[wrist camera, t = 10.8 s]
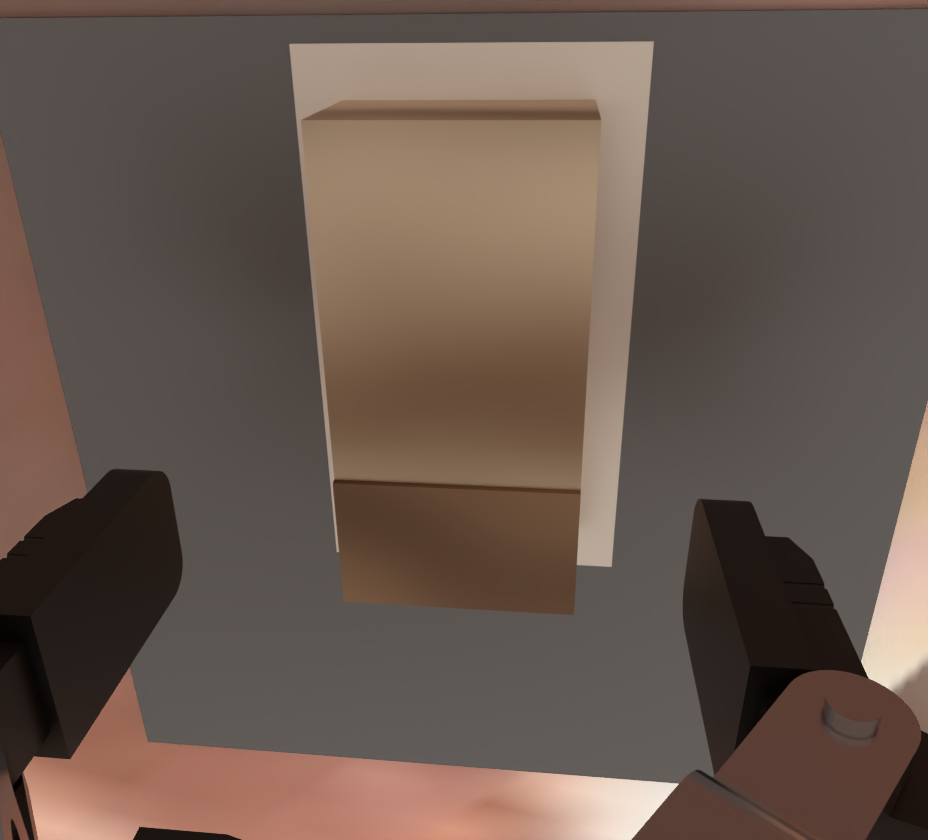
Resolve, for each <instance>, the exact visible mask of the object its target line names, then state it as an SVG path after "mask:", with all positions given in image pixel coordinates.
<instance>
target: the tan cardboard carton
mask: <svg viewBox="0 0 928 840" xmlns="http://www.w3.org/2000/svg"><path fill="white" fill-rule="evenodd" d="M301 127H302V138H303V148H304V159H305V170H306V181H307V191H308V202H309V213H310V224H311V234H312V245H313V256H314V267H315V277H316V288H317V299H318V310H319V320H320V331H321V342H322V353H323V363H324V374H325V385H326V396H327V406H328V417H329V428H330V439H331V449H332V460H333V471H334V481H333V494H334V504H335V515H336V525H337V536H338V547H339V557H340V568H341V578H342V589H343V600H344V602H358V603H375V604H392V605H409V606H426V607H443V608H460V609H477V610H494V611H512V612H529V613H546V614H563V615H574V605H575V588H576V570H577V552H578V534H579V516H580V499H581V475H582V457H583V439H584V421H585V403H586V385H587V368H588V350H589V332H590V314H591V296H592V278H593V260H594V243H595V225H596V207H597V189H598V171H599V153H600V135H601V117H600V113H599V110H598V106H597V103H596V100H342V101H339V102H337V103H335V104H333V105H331V106H329V107H327V108H325V109H323V110H321V111H319V112H317V113H314V114H312V115H310V116H308V117H306V118H304V119H302V120H301Z"/></svg>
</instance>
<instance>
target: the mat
mask: <svg viewBox="0 0 928 840" xmlns="http://www.w3.org/2000/svg"><path fill="white" fill-rule="evenodd" d="M342 100H596V103H597V106H598V110H599V113H600V117H601V135H600V153H599V171H598V189H597V207H596V225H595V243H594V260H593V278H592V296H591V314H590V332H589V350H588V368H587V385H586V403H585V421H584V439H583V457H582V475H581V499H580V516H579V534H578V552H577V570H576V588H575V605H574V615H563V614H546V613H529V612H512V611H494V610H477V609H460V608H443V607H426V606H409V605H392V604H375V603H358V602H344V600H343V589H342V578H341V568H340V557H339V547H338V536H337V525H336V515H335V504H334V494H333V481H334V471H333V460H332V449H331V439H330V428H329V417H328V406H327V396H326V385H325V374H324V363H323V353H322V342H321V331H320V320H319V310H318V299H317V288H316V277H315V267H314V256H313V245H312V234H311V224H310V213H309V202H308V191H307V181H306V170H305V159H304V148H303V138H302V127H301V120H302V119H304V118H306V117H308V116H310V115H312V114H314V113H317V112H319V111H321V110H323V109H325V108H327V107H329V106H331V105H333V104H335V103H337V102H339V101H342ZM0 131H1V135H2V139H3V143H4V147H5V151H6V155H7V160H8V164H9V168H10V172H11V176H12V180H13V184H14V189H15V193H16V197H17V201H18V205H19V209H20V213H21V218H22V222H23V226H24V230H25V234H26V238H27V242H28V247H29V251H30V255H31V259H32V263H33V267H34V271H35V276H36V280H37V284H38V288H39V292H40V296H41V300H42V304H43V309H44V313H45V317H46V321H47V325H48V329H49V333H50V338H51V342H52V346H53V350H54V354H55V358H56V362H57V367H58V371H59V375H60V379H61V383H62V387H63V391H64V396H65V400H66V404H67V408H68V412H69V416H70V420H71V424H72V429H73V433H74V437H75V441H76V445H77V449H78V453H79V458H80V462H81V466H82V470H83V474H84V478H85V482H86V487H87V491H88V492H89V491H90V490H91V489H92V488H93V487H94V486H95V485H96V484H97V483H98V482H99V481H100V480H101V479H102V478H103V477H104V475H105V474H106V473H107V472H109V471H110V470H112V469H132V470H152V471H162V472H164V473H165V474H166V476H167V477H168V479H169V482H170V486H171V492H172V498H173V503H174V509H175V515H176V521H177V526H178V532H179V538H180V544H181V550H182V556H183V570H182V577H181V582H180V585H179V588H178V591H177V593H176V595H175V597H174V599H173V600H172V602H171V603H170V605H169V606H168V608H167V610H166V611H165V613H164V614H163V616H162V617H161V619H160V620H159V622H158V624H157V625H156V627H155V628H154V630H153V631H152V633H151V634H150V636H149V637H148V639H147V641H146V642H145V644H144V645H143V647H142V648H141V650H140V651H139V653H138V655H137V656H136V658H135V659H134V661H133V662H132V664H131V665H130V669H131V673H132V677H133V681H134V685H135V689H136V693H137V698H138V702H139V706H140V710H141V714H142V718H143V722H144V727H145V731H146V735H147V739H148V742H160V743H172V744H185V745H198V746H210V747H223V748H236V749H248V750H261V751H274V752H287V753H299V754H312V755H325V756H337V757H350V758H363V759H375V760H388V761H401V762H414V763H426V764H439V765H452V766H464V767H477V768H490V769H503V770H515V771H528V772H541V773H553V774H566V775H579V776H591V777H604V778H617V779H630V780H642V781H655V782H668V783H680V782H681V781H682V780H683V779H684V778H685V777H686V776H687V775H688V774H690V773H691V772H693V771H695V770H701V771H703V772H704V773H706V774H708V775H709V776H711V777H713V776H714V772H713V767H712V762H711V757H710V752H709V747H708V742H707V738H706V733H705V728H704V723H703V718H702V713H701V708H700V703H699V699H698V694H697V689H696V684H695V679H694V674H693V669H692V664H691V660H690V655H689V650H688V645H687V640H686V635H685V630H684V623H683V587H684V579H685V572H686V565H687V557H688V550H689V543H690V536H691V528H692V521H693V514H694V509H695V505H696V502H697V500H698V499H714V500H735V501H750V502H751V503H752V504H753V506H754V509H755V511H756V514H757V516H758V519H759V521H760V524H761V526H762V529H763V532H764V534H765V536H774V537H789V538H790V539H791V540H792V541H793V542H794V543H795V544H796V545H798V546H799V547H800V548H801V549H802V550H803V551H804V552H806V553H807V554H808V555H809V556H810V557H811V558H812V559H813V560H814V562H815V564H816V566H817V569H818V571H819V573H820V575H821V577H822V579H823V581H824V584H825V585H824V588H825V589H827V590H828V592H829V594H830V597H831V599H832V601H833V603H834V609H836V610H837V612H838V614H839V616H840V618H841V620H842V622H843V625H844V627H845V629H846V631H847V633H848V635H849V638H850V640H851V642H852V644H853V646H854V648H855V650H856V653H857V655H858V657H859V659H860V661H861V659H862V655H863V651H864V648H865V644H866V640H867V636H868V632H869V628H870V624H871V620H872V616H873V612H874V608H875V604H876V600H877V597H878V593H879V589H880V585H881V581H882V577H883V573H884V569H885V565H886V561H887V557H888V553H889V550H890V546H891V542H892V538H893V534H894V530H895V526H896V522H897V518H898V514H899V510H900V506H901V502H902V499H903V495H904V491H905V487H906V483H907V479H908V475H909V471H910V467H911V463H912V459H913V455H914V452H915V448H916V444H917V440H918V436H919V432H920V428H921V424H922V420H923V416H924V412H925V408H926V404H927V401H928V9H844V10H744V11H643V12H542V13H442V14H341V15H241V16H140V17H39V18H0Z"/></svg>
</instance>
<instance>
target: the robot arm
mask: <svg viewBox="0 0 928 840" xmlns="http://www.w3.org/2000/svg"><path fill="white" fill-rule="evenodd" d="M182 570H183V556H182V550H181V544H180V538H179V532H178V526H177V521H176V515H175V509H174V503H173V498H172V492H171V486H170V482H169V479H168V477H167V476H166V474H165V473H164V472H162V471H152V470H132V469H112V470H110V471H109V472H107V473H106V474H105V475H104V477H103V478H102V479H101V480H100V481H99V482H98V483H97V484H96V485H95V486H94V487H93V488H92V489H91V490H90V491H89V492H88V493H87V494H86V495H85V496H84V497H83V498H82V499H78V498H76V499H74V500H72V501H71V502H69V503H67V504H65V505H63V506H62V507H60V508H58V509H56V510H55V511H53V512H51V513H49V514H47V515H46V516H44V517H43V518H42V519H41V520H40V521H39V522H38V523H37V524H36V525H35V526H34V527H33V528H32V529H31V530H30V531H29V532H28V533H27V534H26V535H25V536H24V541H19V542H18V543H17V544H16V545H15V546H14V547H13V548H12V549H11V550H10V551H9V552H8V553H7V558H2V559H1V560H0V840H38V836H37V831H36V826H35V821H34V816H33V811H32V805H31V800H30V795H29V790H28V786H27V783H26V779H25V776H24V773H23V771H24V770H25V768H26V767H27V765H28V764H29V762H30V761H31V760H32V758H33V757H34V756H37V757H49V758H62V759H71V757H72V755H73V754H74V752H75V751H76V749H77V748H78V746H79V745H80V743H81V741H82V740H83V738H84V737H85V735H86V734H87V732H88V731H89V729H90V727H91V726H92V724H93V723H94V721H95V720H96V718H97V717H98V715H99V714H100V712H101V710H102V709H103V707H104V706H105V704H106V703H107V701H108V700H109V698H110V696H111V695H112V693H113V692H114V690H115V689H116V687H117V686H118V684H119V682H120V681H121V679H122V678H123V676H124V675H125V673H126V672H127V670H128V669H129V667H130V665H131V664H132V662H133V661H134V659H135V658H136V656H137V655H138V653H139V651H140V650H141V648H142V647H143V645H144V644H145V642H146V641H147V639H148V637H149V636H150V634H151V633H152V631H153V630H154V628H155V627H156V625H157V624H158V622H159V620H160V619H161V617H162V616H163V614H164V613H165V611H166V610H167V608H168V606H169V605H170V603H171V602H172V600H173V599H174V597H175V595H176V593H177V591H178V588H179V585H180V582H181V577H182ZM824 585H825V584H824V581H823V579H822V577H821V575H820V573H819V571H818V569H817V566H816V564H815V562H814V560H813V559H812V558H811V557H810V556H809V555H808V554H807V553H806V552H804V551H803V550H802V549H801V548H800V547H799V546H798V545H796V544H795V543H794V542H793V541H792V540H791V539H790V538H789V537H774V536H765V534H764V532H763V529H762V526H761V524H760V521H759V519H758V516H757V514H756V511H755V509H754V506H753V504H752V503H751V502H750V501H735V500H714V499H698V500H697V502H696V505H695V509H694V514H693V521H692V528H691V536H690V543H689V550H688V557H687V565H686V572H685V579H684V587H683V623H684V630H685V635H686V640H687V645H688V650H689V655H690V660H691V664H692V669H693V674H694V679H695V684H696V689H697V694H698V699H699V703H700V708H701V713H702V718H703V723H704V728H705V733H706V738H707V742H708V747H709V752H710V757H711V762H712V767H713V772H714V776H713V777H711V776H709V775H708V774H706V773H704V772H703V771H701V770H695V771H693V772H691V773H690V774H688V775H687V776H686V777H685V778H684V779H683V780H682V781H681V782H680V783H679V785H678V786H677V787H676V788H675V789H674V791H673V792H672V793H671V794H670V795H669V796H668V798H667V799H666V800H665V801H664V802H663V803H662V805H661V806H660V807H659V808H658V809H657V810H656V812H655V813H654V814H653V815H652V816H651V817H650V819H649V820H648V821H647V822H646V823H645V825H644V826H643V827H642V828H641V829H640V830H639V832H638V833H637V834H636V835H635V836H634V837H633V839H632V840H928V734H927V733H925V732H923V731H921V729H920V725H919V723H918V720H917V718H916V716H915V715H914V713H913V712H912V710H911V709H910V708H909V707H908V705H907V704H906V703H905V702H904V701H903V700H902V699H901V698H899V697H898V696H897V695H896V694H895V693H893V692H892V691H890V690H889V689H887V688H886V687H884V686H882V685H880V684H879V683H877V682H875V681H873V680H870V679H868V676H867V674H866V672H865V670H864V668H863V666H862V663H861V661H860V659H859V657H858V655H857V653H856V650H855V648H854V646H853V644H852V642H851V640H850V638H849V635H848V633H847V631H846V629H845V627H844V625H843V622H842V620H841V618H840V616H839V614H838V612H837V610H836V609H834V603H833V601H832V599H831V597H830V594H829V592H828V590H827V589H825V588H824ZM133 840H241V839H238V838H235V837H232V836H230V835H226V834H215V833H203V832H192V831H180V830H169V829H157V828H146V827H139V829H138V831H137V833H136V835H135V837H134V839H133Z"/></svg>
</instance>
